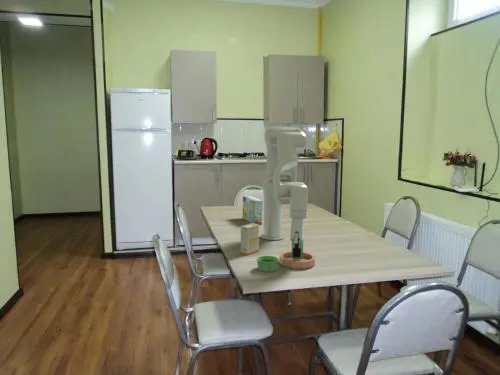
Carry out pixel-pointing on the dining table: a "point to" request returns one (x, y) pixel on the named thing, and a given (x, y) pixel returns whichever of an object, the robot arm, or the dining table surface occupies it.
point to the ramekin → (267, 263)
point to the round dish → (297, 261)
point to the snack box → (252, 209)
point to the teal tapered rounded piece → (301, 250)
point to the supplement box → (249, 238)
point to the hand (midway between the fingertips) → (297, 254)
